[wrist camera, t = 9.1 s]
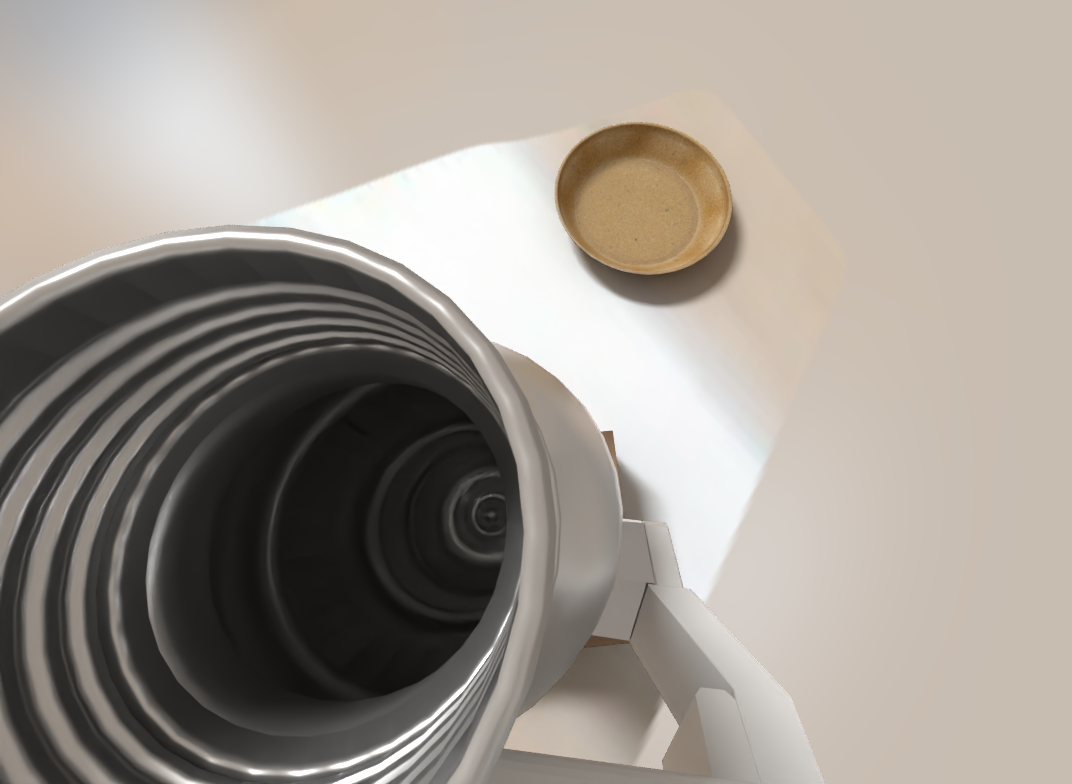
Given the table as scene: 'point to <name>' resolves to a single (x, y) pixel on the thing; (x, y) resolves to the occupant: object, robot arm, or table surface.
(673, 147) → the plant saucer
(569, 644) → the plastic bottle
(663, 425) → the table surface
